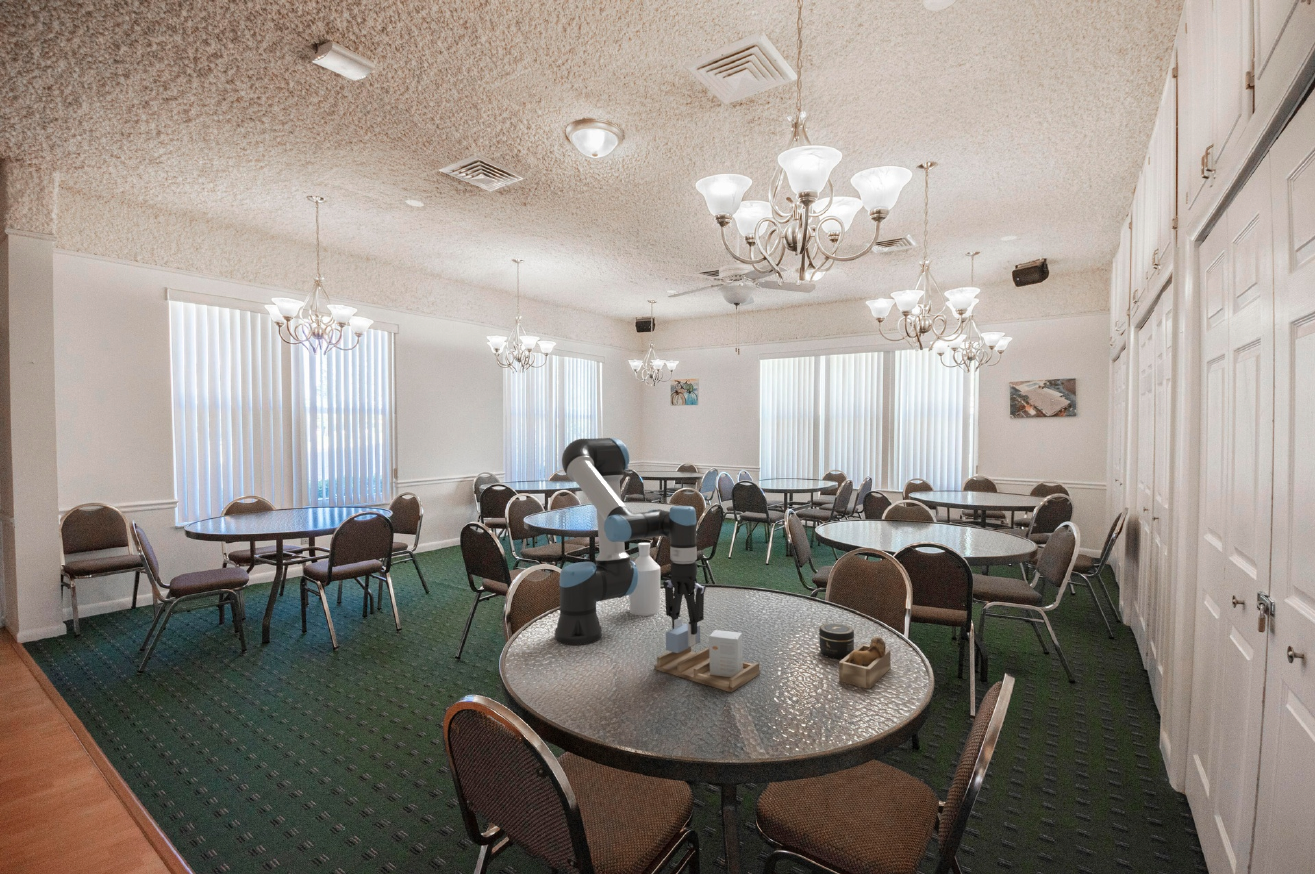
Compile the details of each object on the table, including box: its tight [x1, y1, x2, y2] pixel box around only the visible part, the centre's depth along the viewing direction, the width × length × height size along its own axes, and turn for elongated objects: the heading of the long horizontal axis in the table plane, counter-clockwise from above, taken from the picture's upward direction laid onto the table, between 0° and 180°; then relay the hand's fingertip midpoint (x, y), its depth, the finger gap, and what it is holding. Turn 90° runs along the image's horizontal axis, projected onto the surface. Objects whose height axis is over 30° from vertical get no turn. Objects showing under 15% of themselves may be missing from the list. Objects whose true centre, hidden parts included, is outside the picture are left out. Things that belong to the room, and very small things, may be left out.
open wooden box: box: [838, 643, 892, 690], centre depth 159 cm, size 8×17×5 cm, turn 142°
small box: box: [708, 629, 744, 678], centre depth 159 cm, size 8×6×10 cm
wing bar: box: [665, 622, 701, 653], centre depth 167 cm, size 4×11×5 cm, turn 142°
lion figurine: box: [848, 636, 887, 667], centre depth 159 cm, size 15×5×9 cm, turn 122°
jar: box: [818, 622, 855, 660], centre depth 175 cm, size 10×10×8 cm
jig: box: [654, 646, 761, 693], centre depth 163 cm, size 25×15×4 cm, turn 52°
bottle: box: [628, 542, 661, 617], centre depth 219 cm, size 12×12×25 cm
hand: (684, 643), depth 167 cm, fingers closed on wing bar, 4 cm apart
